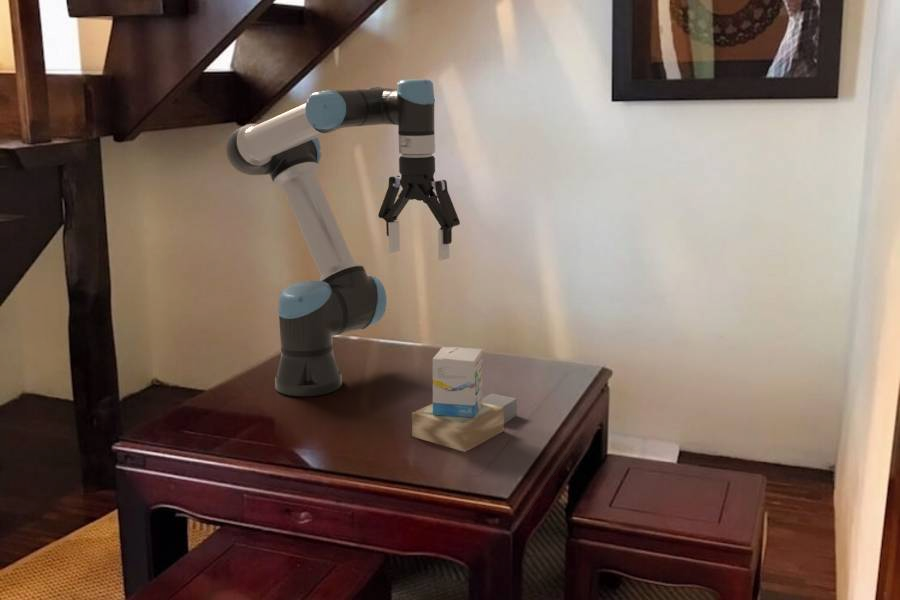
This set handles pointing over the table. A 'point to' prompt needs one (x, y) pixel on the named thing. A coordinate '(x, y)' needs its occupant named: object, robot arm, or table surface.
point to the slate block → (503, 404)
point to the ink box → (457, 382)
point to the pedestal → (458, 427)
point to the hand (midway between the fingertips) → (418, 255)
